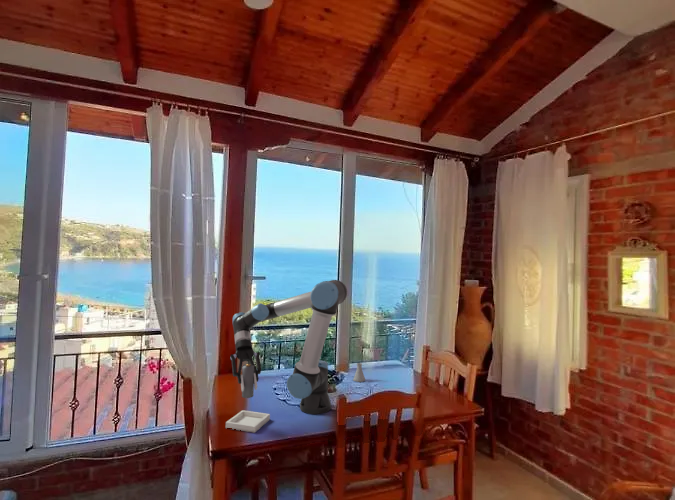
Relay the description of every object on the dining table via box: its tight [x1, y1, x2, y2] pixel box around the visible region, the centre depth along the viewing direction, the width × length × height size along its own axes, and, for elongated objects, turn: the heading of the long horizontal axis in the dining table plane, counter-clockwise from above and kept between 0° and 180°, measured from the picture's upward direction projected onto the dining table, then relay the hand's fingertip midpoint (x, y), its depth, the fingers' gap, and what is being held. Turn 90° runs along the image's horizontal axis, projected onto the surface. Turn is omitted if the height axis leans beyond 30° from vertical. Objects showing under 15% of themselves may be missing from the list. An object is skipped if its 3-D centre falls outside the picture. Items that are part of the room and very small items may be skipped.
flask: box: [352, 362, 366, 383], centre depth 239 cm, size 7×7×10 cm
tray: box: [225, 409, 271, 434], centre depth 178 cm, size 14×14×2 cm
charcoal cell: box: [241, 363, 255, 399], centre depth 178 cm, size 5×5×14 cm
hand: (249, 388), depth 175 cm, fingers closed on charcoal cell, 5 cm apart
